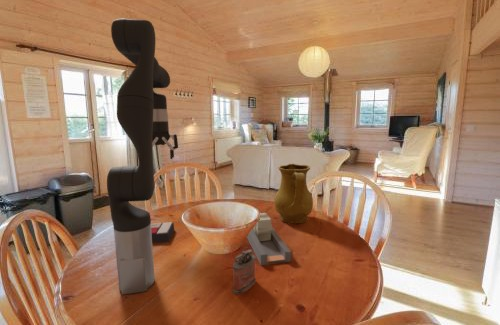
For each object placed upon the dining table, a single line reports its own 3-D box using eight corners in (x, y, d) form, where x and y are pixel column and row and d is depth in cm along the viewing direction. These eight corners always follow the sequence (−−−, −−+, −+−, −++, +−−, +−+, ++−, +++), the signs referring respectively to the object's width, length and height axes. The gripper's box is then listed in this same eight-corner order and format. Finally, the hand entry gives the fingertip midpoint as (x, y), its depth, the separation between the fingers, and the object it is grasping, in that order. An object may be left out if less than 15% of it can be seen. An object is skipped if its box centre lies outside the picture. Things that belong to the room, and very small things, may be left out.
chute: (290, 261, 87) (291, 251, 86) (260, 265, 84) (260, 255, 84) (266, 227, 113) (266, 219, 113) (243, 229, 111) (243, 221, 111)
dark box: (136, 223, 110) (173, 220, 111) (137, 233, 110) (174, 230, 112) (126, 235, 99) (167, 231, 100) (127, 246, 100) (169, 242, 101)
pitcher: (316, 213, 127) (316, 162, 122) (307, 230, 111) (306, 171, 106) (281, 209, 135) (280, 160, 130) (268, 225, 118) (266, 169, 113)
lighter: (249, 277, 78) (248, 244, 77) (258, 281, 76) (258, 248, 75) (229, 290, 72) (229, 256, 71) (239, 296, 70) (238, 260, 68)
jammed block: (271, 240, 99) (271, 219, 97) (257, 241, 98) (257, 220, 96) (265, 232, 105) (265, 212, 104) (253, 233, 104) (253, 213, 103)
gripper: (140, 120, 105) (143, 161, 108) (177, 120, 110) (179, 159, 113) (139, 120, 112) (142, 159, 114) (175, 120, 117) (177, 157, 120)
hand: (160, 159), depth 114 cm, fingers open, 8 cm apart
